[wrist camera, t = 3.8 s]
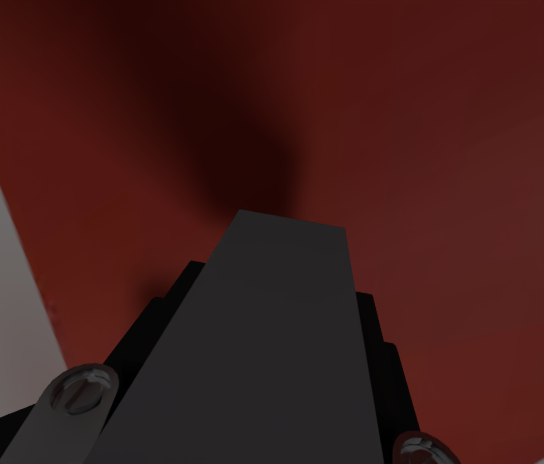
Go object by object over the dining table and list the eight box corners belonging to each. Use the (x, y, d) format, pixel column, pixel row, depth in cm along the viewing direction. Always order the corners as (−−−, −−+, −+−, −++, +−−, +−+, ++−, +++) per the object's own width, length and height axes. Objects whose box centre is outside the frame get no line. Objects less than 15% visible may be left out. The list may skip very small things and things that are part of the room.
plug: (236, 206, 12) (-93, 716, 2) (348, 226, 12) (472, 880, 2) (228, 295, 14) (19, 793, 4) (324, 314, 14) (336, 888, 4)
